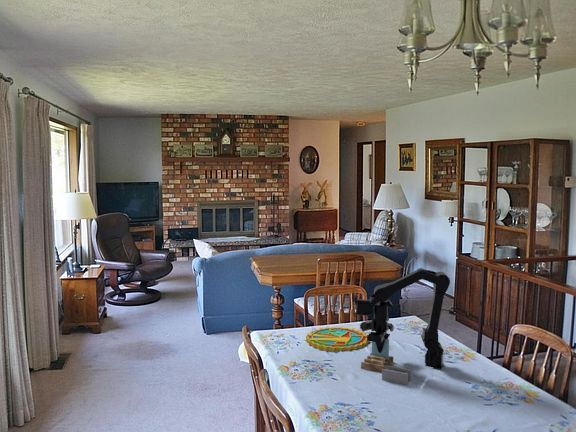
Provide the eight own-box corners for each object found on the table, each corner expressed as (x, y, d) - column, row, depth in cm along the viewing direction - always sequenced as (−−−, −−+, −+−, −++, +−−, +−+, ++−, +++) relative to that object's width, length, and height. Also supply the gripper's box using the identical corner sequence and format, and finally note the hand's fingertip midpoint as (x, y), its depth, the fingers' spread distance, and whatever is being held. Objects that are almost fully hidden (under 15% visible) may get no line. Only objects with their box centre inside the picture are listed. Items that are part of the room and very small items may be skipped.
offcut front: (385, 365, 211) (385, 357, 211) (383, 367, 210) (384, 358, 210) (371, 363, 214) (371, 355, 214) (370, 364, 213) (370, 356, 213)
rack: (394, 363, 215) (394, 356, 215) (385, 374, 204) (386, 366, 204) (369, 359, 220) (369, 352, 220) (360, 369, 209) (360, 362, 209)
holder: (410, 380, 198) (410, 369, 197) (407, 385, 193) (407, 374, 193) (385, 376, 202) (385, 365, 202) (381, 380, 198) (382, 369, 198)
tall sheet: (388, 362, 215) (389, 339, 214) (387, 363, 213) (388, 340, 212) (372, 359, 218) (373, 337, 217) (371, 360, 216) (371, 338, 215)
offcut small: (383, 369, 208) (383, 361, 207) (382, 370, 207) (382, 362, 206) (371, 367, 210) (371, 358, 210) (370, 368, 209) (370, 360, 208)
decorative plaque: (303, 345, 230) (307, 325, 260) (303, 351, 230) (307, 330, 260) (370, 347, 227) (367, 326, 257) (370, 353, 227) (366, 331, 257)
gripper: (369, 308, 225) (369, 342, 227) (354, 319, 209) (354, 356, 211) (394, 311, 220) (393, 346, 222) (381, 323, 204) (380, 360, 205)
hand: (380, 351), depth 215 cm, fingers closed on tall sheet, 1 cm apart
